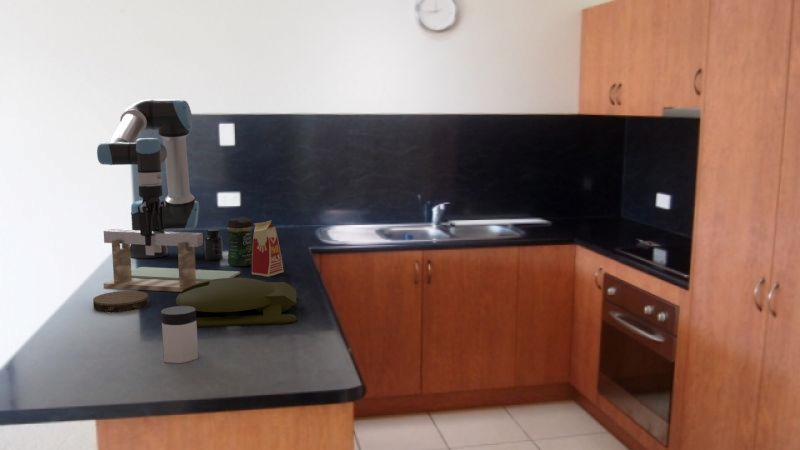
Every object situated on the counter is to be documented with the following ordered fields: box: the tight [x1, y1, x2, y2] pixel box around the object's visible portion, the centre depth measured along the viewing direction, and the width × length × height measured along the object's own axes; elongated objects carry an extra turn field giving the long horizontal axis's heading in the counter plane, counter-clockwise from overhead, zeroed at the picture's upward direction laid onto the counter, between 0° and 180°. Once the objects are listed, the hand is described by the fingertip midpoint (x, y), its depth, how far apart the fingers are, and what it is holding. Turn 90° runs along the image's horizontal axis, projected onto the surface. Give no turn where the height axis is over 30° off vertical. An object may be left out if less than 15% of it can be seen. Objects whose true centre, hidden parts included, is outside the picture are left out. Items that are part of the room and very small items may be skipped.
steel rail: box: [103, 228, 204, 248], centre depth 248 cm, size 34×4×4 cm, turn 79°
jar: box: [160, 305, 199, 364], centre depth 178 cm, size 9×8×12 cm
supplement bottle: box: [204, 228, 224, 262], centre depth 296 cm, size 7×7×12 cm
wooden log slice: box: [92, 290, 150, 313], centre depth 226 cm, size 16×16×3 cm
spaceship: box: [175, 277, 297, 328], centre depth 219 cm, size 35×31×10 cm
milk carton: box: [251, 220, 284, 278], centre depth 270 cm, size 9×9×20 cm
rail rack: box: [103, 241, 202, 293], centre depth 249 cm, size 33×9×16 cm, turn 79°
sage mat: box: [131, 266, 241, 282], centre depth 267 cm, size 40×14×1 cm, turn 79°
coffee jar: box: [226, 216, 254, 267], centre depth 285 cm, size 10×8×19 cm
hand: (153, 253), depth 249 cm, fingers closed on steel rail, 4 cm apart
